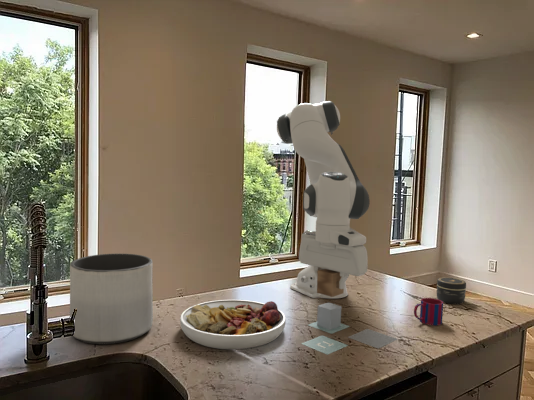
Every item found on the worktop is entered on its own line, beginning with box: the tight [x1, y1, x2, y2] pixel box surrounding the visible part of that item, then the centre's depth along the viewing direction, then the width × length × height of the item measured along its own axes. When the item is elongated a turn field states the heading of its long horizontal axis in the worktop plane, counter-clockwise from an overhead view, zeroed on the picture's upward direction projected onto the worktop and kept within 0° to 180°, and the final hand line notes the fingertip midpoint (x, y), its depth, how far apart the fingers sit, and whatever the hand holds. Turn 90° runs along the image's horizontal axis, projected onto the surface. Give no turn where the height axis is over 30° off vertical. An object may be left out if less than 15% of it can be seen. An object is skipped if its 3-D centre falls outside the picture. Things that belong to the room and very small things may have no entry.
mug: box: [413, 297, 444, 327], centre depth 143 cm, size 7×10×7 cm
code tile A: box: [300, 335, 349, 356], centre depth 121 cm, size 9×9×1 cm
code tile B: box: [308, 321, 351, 334], centre depth 135 cm, size 9×9×1 cm
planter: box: [69, 253, 154, 345], centre depth 127 cm, size 22×22×20 cm
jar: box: [436, 276, 467, 305], centre depth 166 cm, size 10×10×8 cm
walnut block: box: [317, 269, 344, 297], centre depth 120 cm, size 5×5×6 cm
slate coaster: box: [347, 328, 398, 350], centre depth 127 cm, size 10×10×1 cm
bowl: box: [179, 299, 286, 350], centre depth 130 cm, size 30×30×8 cm
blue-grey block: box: [316, 302, 342, 330], centre depth 135 cm, size 5×5×6 cm
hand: (330, 285), depth 120 cm, fingers closed on walnut block, 5 cm apart
